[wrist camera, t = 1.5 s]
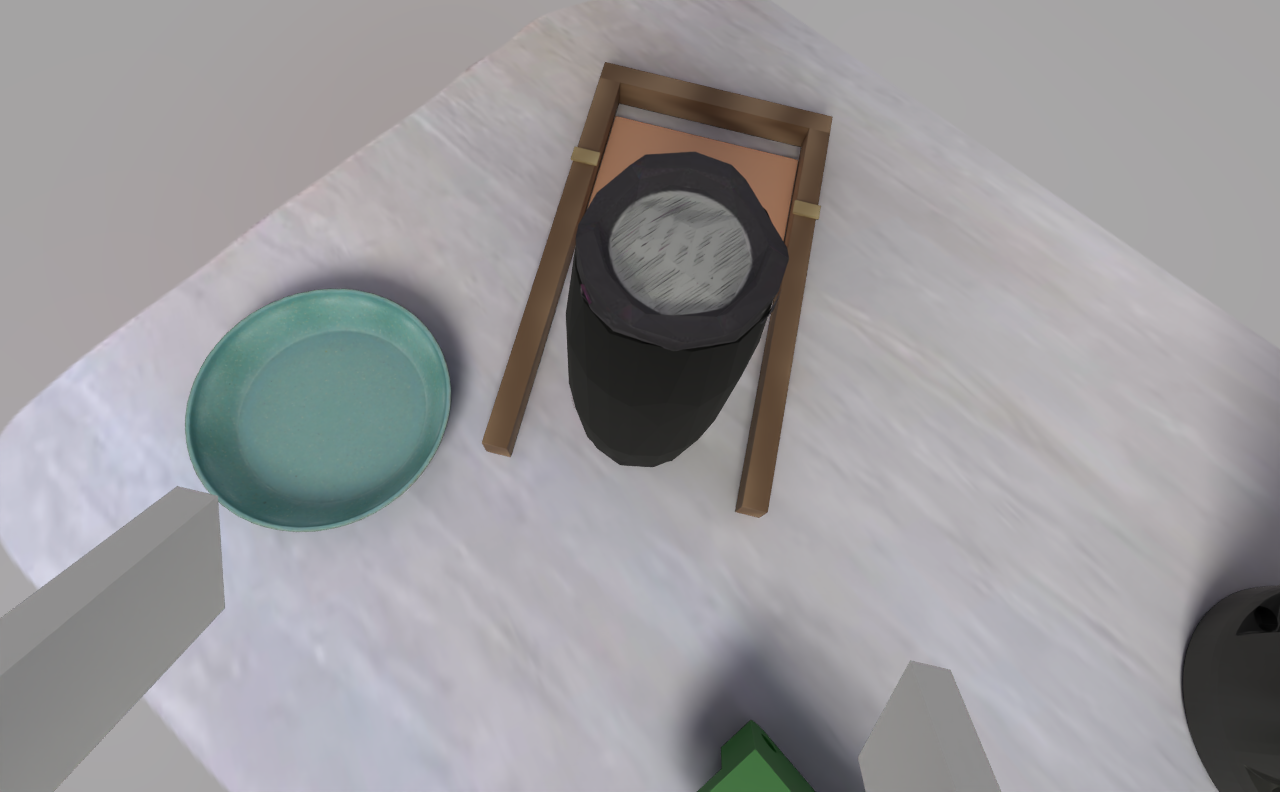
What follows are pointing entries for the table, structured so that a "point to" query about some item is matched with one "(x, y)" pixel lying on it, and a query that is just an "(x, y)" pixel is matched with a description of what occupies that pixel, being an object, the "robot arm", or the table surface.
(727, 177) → the portable speaker
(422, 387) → the saucer
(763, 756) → the clamp
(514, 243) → the table surface
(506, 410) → the rail track
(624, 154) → the flat panel
